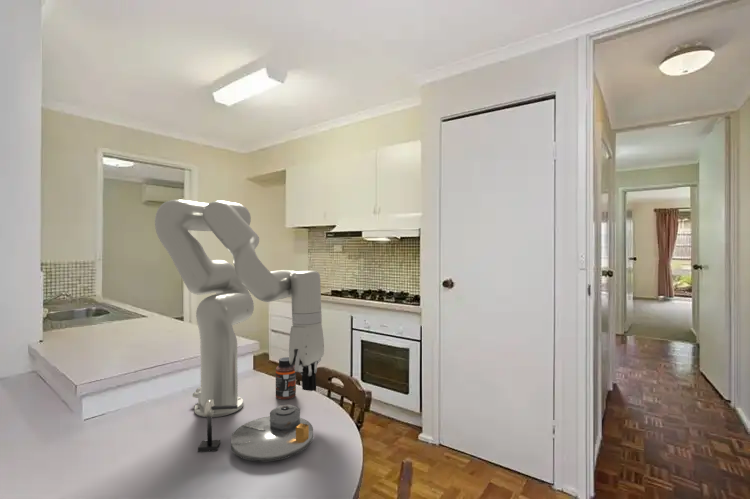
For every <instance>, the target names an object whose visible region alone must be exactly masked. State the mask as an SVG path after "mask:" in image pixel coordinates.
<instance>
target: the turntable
mask: <svg viewBox="0 0 750 499" xmlns="http://www.w3.org/2000/svg"><path fill="white" fill-rule="evenodd" d="M313 440H314V427H313V425H312V423H311V422H309V421H308V420H307V419H304V418H302V417H300V424H299V425H298V426H297V427H296V428H295V429H293V430H289V431H275V430H273V429H271V428H270V415H268V416H264V417H259V418H256V419H253V420H250V421H248V422H246V423H244V424H242V425H241V426H239V427H238V428H237V429H235V430H234V432H233V433H232V435H231V438H230V445H231V446H230V448H231V451H232V453H233V454H234V455H236V456H237V457H239V458H241V459H244V460H247V461H253V462H272V461H278V460H279V461H280V460H283V459H287V458H291V457H293V456H295V455H297V454H299V453H301V452H303V451H304V450H306V449H307V448H308V447H310V445H311V443H312V442H313Z"/></svg>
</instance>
